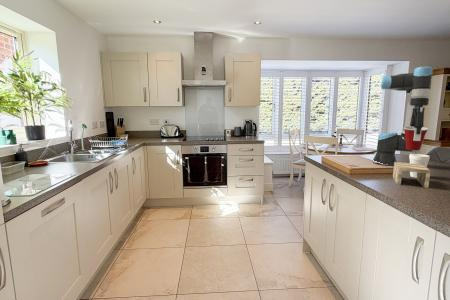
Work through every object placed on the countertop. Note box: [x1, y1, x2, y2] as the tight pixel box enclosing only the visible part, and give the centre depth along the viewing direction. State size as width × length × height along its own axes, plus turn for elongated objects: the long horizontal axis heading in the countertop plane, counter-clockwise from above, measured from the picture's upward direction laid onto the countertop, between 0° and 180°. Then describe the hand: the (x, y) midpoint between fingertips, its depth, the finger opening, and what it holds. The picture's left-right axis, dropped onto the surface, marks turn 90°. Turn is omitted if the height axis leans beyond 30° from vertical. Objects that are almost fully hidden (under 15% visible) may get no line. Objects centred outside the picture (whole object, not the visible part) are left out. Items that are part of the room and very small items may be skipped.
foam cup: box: [408, 153, 431, 179], centre depth 146 cm, size 10×9×13 cm
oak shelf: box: [392, 161, 432, 189], centre depth 135 cm, size 18×13×9 cm
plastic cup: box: [403, 126, 429, 151], centre depth 132 cm, size 11×11×12 cm
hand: (414, 139), depth 132 cm, fingers closed on plastic cup, 11 cm apart
